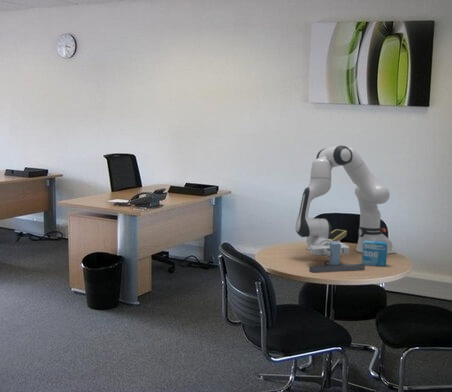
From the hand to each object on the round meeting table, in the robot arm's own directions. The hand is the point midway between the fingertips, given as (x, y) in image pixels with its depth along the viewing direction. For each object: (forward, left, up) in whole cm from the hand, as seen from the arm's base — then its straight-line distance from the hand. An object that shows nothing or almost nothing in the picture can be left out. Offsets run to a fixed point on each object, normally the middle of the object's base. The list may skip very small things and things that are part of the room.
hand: (335, 253), depth 263 cm
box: (-26, -59, -8) cm, 65 cm away
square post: (0, -1, -7) cm, 7 cm away
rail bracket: (0, +1, -8) cm, 8 cm away
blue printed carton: (-24, -5, -8) cm, 26 cm away
